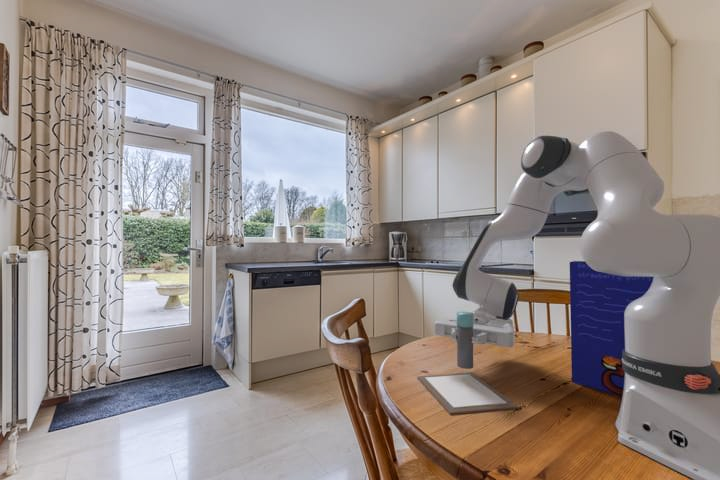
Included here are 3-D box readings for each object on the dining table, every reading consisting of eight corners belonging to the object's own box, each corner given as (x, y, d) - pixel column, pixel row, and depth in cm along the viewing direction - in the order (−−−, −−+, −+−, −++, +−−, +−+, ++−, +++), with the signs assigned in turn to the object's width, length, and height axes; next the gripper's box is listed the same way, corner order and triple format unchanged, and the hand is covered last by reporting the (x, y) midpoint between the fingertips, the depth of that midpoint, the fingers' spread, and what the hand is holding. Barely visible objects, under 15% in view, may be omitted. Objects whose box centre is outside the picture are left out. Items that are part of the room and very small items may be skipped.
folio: (517, 408, 68) (517, 405, 69) (450, 414, 66) (450, 411, 66) (471, 374, 87) (471, 371, 87) (417, 378, 85) (417, 375, 85)
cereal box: (701, 409, 68) (696, 263, 69) (695, 417, 65) (690, 264, 65) (581, 376, 86) (579, 260, 86) (571, 382, 82) (569, 261, 83)
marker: (476, 368, 80) (476, 314, 80) (461, 369, 79) (461, 315, 80) (468, 362, 84) (468, 311, 84) (453, 363, 83) (453, 311, 83)
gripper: (443, 311, 98) (424, 320, 87) (519, 320, 87) (507, 331, 75) (444, 332, 98) (424, 344, 87) (519, 344, 87) (508, 359, 75)
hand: (463, 338), depth 81 cm, fingers closed on marker, 4 cm apart
